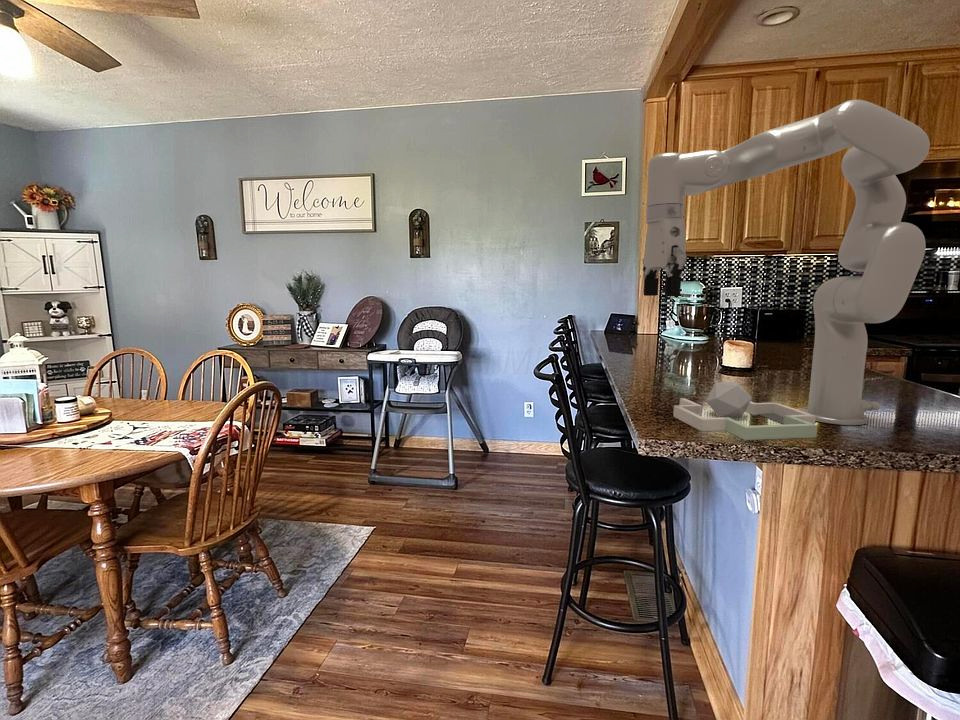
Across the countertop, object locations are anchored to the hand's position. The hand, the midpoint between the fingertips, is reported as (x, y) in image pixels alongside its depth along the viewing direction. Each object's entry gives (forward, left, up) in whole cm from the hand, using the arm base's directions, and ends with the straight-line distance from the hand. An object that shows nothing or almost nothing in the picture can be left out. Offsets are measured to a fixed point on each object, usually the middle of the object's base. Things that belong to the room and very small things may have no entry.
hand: (661, 296), depth 108 cm
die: (-18, 0, -28) cm, 33 cm away
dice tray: (-18, +5, -28) cm, 33 cm away
